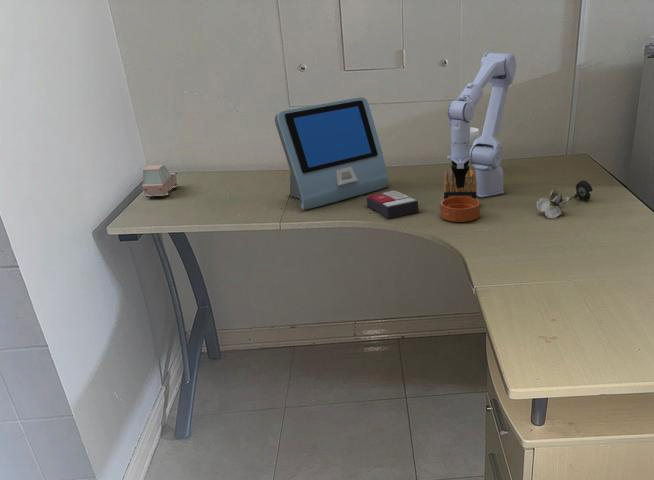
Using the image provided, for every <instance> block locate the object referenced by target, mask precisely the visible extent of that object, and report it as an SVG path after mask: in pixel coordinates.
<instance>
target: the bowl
mask: <svg viewBox="0 0 654 480" xmlns="http://www.w3.org/2000/svg"><path fill="white" fill-rule="evenodd" d="M439 204H440V205H439V206H440V217H441V218H442V219H443V220H446V221H448V222H449V221H450V222H452V223H465V222H466V223H467V222H471V221H475V220H477V219H478V218H479V217H480V213H481V201H480V200H479V199H478V198H477V199H475V198H471V197H460V196H459V197H450V198H446V199H444V198H443V199H442V200H441V201H440V203H439Z"/></svg>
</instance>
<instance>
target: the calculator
mask: <svg viewBox="0 0 654 480" xmlns="http://www.w3.org/2000/svg"><path fill="white" fill-rule="evenodd" d="M366 204H367V205H366V206H367V207H368V208H370V209H372V210H374V211H376V212H378V213H380V214H381V215H382V216H383V217H384V218H386V219H393V218H397V217H402V216H406V215H412V214H415V213H419V201H418V200H417V199H415V198H412V197H410V196H409V195H407V194H404V193H402V192H400V191H398V190H390V191H385V192H382V193H376V194H370V195H368V196H367V197H366Z"/></svg>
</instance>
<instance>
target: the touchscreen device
mask: <svg viewBox="0 0 654 480" xmlns="http://www.w3.org/2000/svg"><path fill="white" fill-rule="evenodd" d="M274 123H275V126H276V130H277V132H278V133H277V134H278V136H279V139H280V143H281V145H282V149H283V153H284V155H285V159H286V162H287V165H288V169H289V172H290V174H289V177H290V178H289V196H290V197H292V198H296V199H297V200H299V204H300V207H301V210H302V211H308V210H312V209H315V208H318V207H319V208H320V207H323V206H327V205H331V204H334V203H337V202H341V201H344V200H347V199H351V198H356V197H359V196H362V195H366V194H368V193H372V192H373V193H374V192H377V191H379V190H383V189H385V188H387V187H388V186H389V175H388V171H387V170H388V169H387V166H386V163H385V158H384V154H383V150H382V146H381V143H380V140H379V135H378V133H377V129H376V125H375V122H374V119H373V115H372V111H371V108H370V105H369V101H368V100H367V99H366V97H355V98H349V99H342V100H338V101H331V102H326V103H321V104H315V105H309V106H304V107H297V108H292V109H285V110H282V111H280V112H278V113H277V114H276V115H275V116H274Z"/></svg>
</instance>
